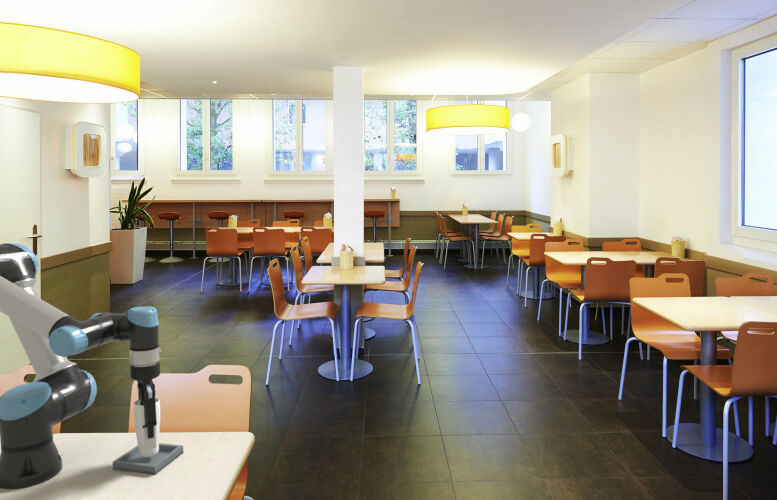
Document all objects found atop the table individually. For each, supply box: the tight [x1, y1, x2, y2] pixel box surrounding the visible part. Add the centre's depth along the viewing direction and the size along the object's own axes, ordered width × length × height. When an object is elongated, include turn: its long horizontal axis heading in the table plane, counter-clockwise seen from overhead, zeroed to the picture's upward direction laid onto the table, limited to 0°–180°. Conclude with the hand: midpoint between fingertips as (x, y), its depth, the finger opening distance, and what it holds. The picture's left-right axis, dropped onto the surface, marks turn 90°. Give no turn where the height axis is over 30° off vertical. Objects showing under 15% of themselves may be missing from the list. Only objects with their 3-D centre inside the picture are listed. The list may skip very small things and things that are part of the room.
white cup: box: [133, 397, 161, 457], centre depth 154 cm, size 7×7×15 cm
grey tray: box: [112, 442, 184, 475], centre depth 154 cm, size 13×13×2 cm
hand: (148, 443), depth 154 cm, fingers closed on white cup, 6 cm apart
